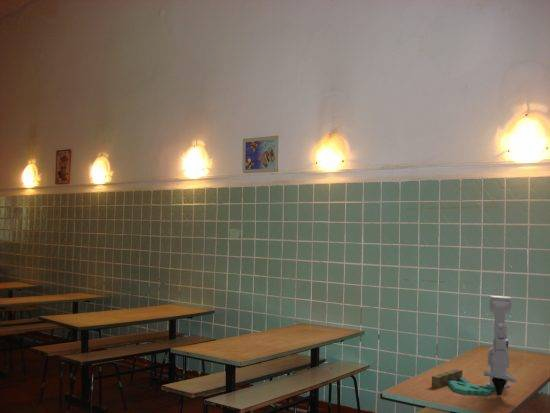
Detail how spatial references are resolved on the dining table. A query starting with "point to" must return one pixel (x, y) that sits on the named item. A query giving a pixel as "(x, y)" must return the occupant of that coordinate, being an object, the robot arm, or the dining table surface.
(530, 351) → the dining table surface
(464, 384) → the alien figure
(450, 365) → the dining table surface
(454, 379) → the walnut board
